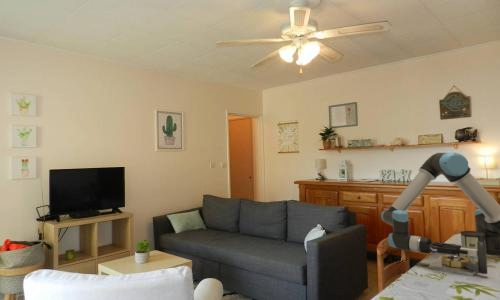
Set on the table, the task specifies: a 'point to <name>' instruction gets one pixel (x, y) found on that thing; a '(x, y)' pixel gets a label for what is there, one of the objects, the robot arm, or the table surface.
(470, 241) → the coffee can
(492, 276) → the table surface
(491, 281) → the table surface
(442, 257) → the tan ring with handle
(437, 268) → the flange plate
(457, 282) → the table surface
